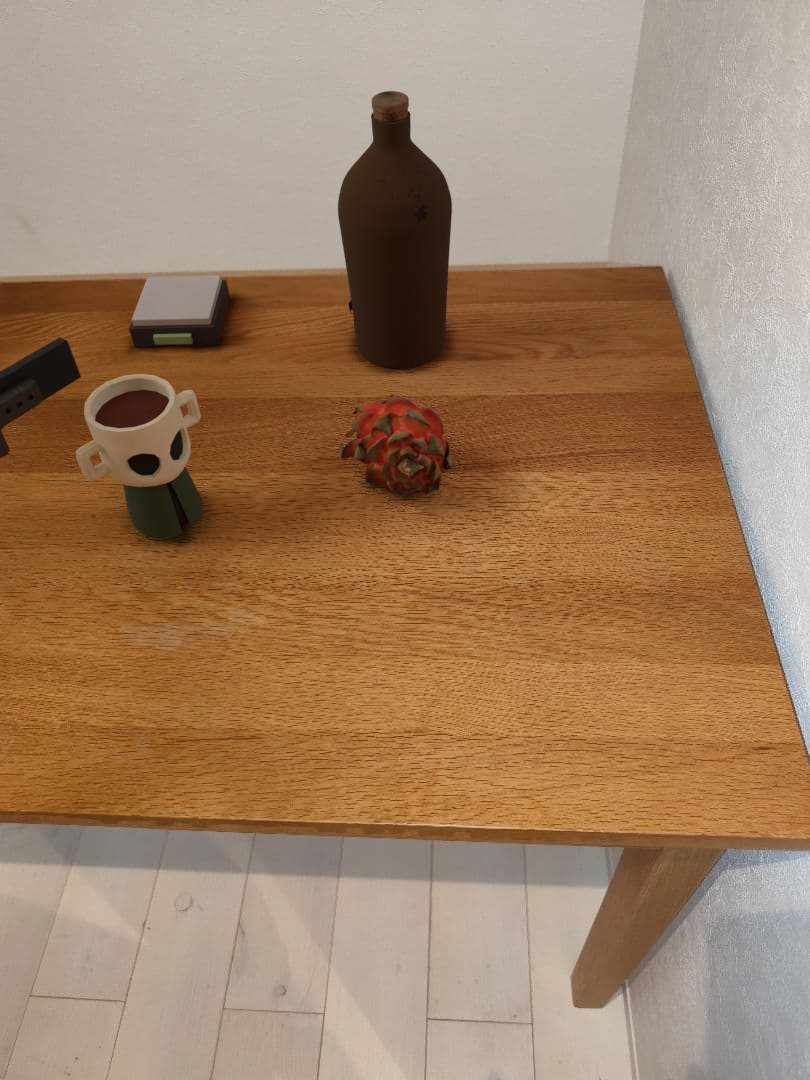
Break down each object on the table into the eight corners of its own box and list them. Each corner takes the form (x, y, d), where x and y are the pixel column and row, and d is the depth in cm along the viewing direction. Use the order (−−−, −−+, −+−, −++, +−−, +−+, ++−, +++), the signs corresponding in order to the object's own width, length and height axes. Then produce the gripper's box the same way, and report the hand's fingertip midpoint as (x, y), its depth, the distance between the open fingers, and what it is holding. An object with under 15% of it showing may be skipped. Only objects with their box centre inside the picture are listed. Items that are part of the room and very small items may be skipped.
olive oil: (468, 329, 95) (474, 85, 77) (420, 385, 89) (413, 135, 71) (383, 303, 99) (368, 65, 80) (331, 355, 93) (303, 110, 75)
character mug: (137, 572, 74) (90, 458, 65) (93, 528, 78) (43, 413, 68) (242, 505, 79) (214, 389, 69) (197, 466, 83) (164, 351, 73)
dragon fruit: (433, 534, 78) (364, 471, 86) (493, 457, 77) (419, 401, 85) (373, 496, 72) (306, 432, 80) (438, 412, 71) (363, 356, 79)
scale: (133, 350, 95) (125, 325, 93) (151, 299, 101) (144, 274, 99) (217, 349, 95) (211, 323, 92) (230, 298, 101) (225, 272, 99)
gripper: (-374, 483, 56) (-74, 329, 68) (-172, 655, 45) (146, 433, 56) (-462, 383, 51) (-121, 234, 63) (-259, 548, 39) (112, 328, 51)
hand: (6, 328), depth 59 cm, fingers open, 13 cm apart
